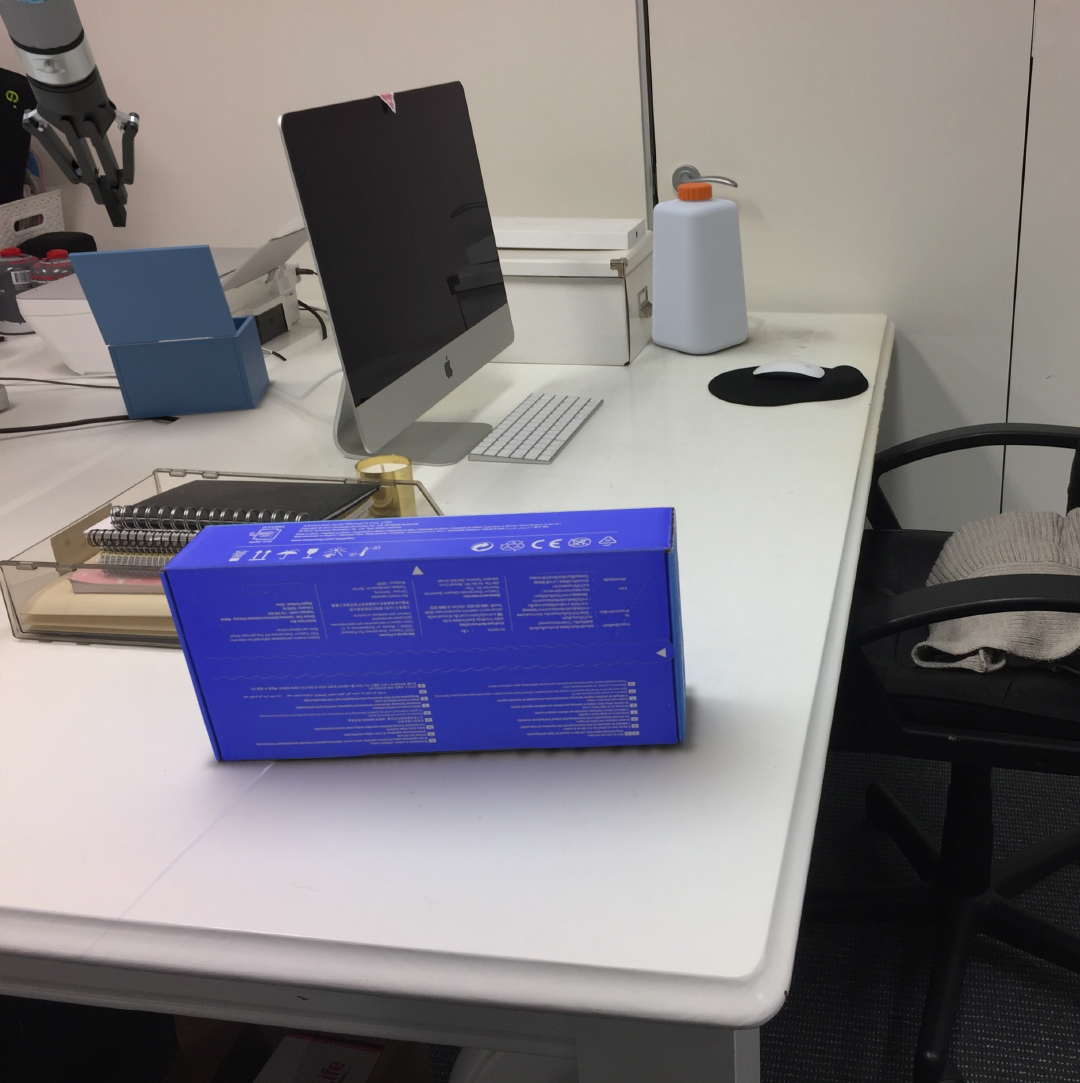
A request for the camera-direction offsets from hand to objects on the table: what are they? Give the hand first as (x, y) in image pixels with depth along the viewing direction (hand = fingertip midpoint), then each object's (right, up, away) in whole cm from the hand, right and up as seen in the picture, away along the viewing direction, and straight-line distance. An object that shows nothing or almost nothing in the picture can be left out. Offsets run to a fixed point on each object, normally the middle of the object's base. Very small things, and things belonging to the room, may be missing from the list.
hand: (120, 219), depth 141 cm
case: (-3, -21, +28) cm, 35 cm away
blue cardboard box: (+60, -60, -52) cm, 99 cm away
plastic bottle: (+78, -7, +52) cm, 94 cm away
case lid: (-2, -7, +13) cm, 15 cm away
